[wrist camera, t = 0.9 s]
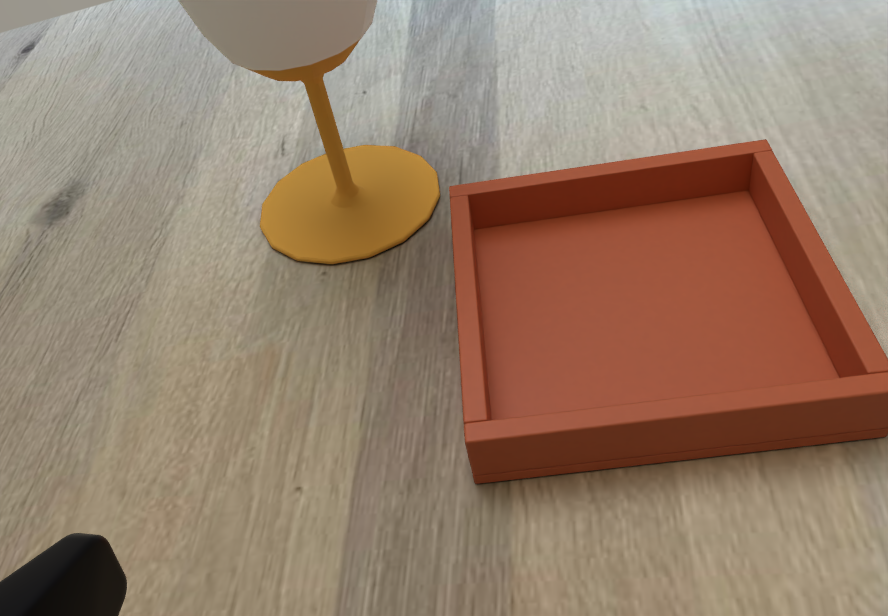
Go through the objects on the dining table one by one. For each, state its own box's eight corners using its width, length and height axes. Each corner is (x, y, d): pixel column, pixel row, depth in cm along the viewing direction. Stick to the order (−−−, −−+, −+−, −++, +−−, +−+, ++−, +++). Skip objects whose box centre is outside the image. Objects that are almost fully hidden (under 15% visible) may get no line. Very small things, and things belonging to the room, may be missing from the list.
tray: (887, 437, 26) (906, 390, 25) (474, 484, 28) (464, 442, 26) (759, 186, 36) (766, 138, 34) (457, 229, 37) (449, 185, 35)
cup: (327, 136, 44) (226, -194, 33) (472, 164, 41) (414, -199, 29) (223, 241, 39) (63, -107, 28) (379, 284, 35) (264, -100, 24)
